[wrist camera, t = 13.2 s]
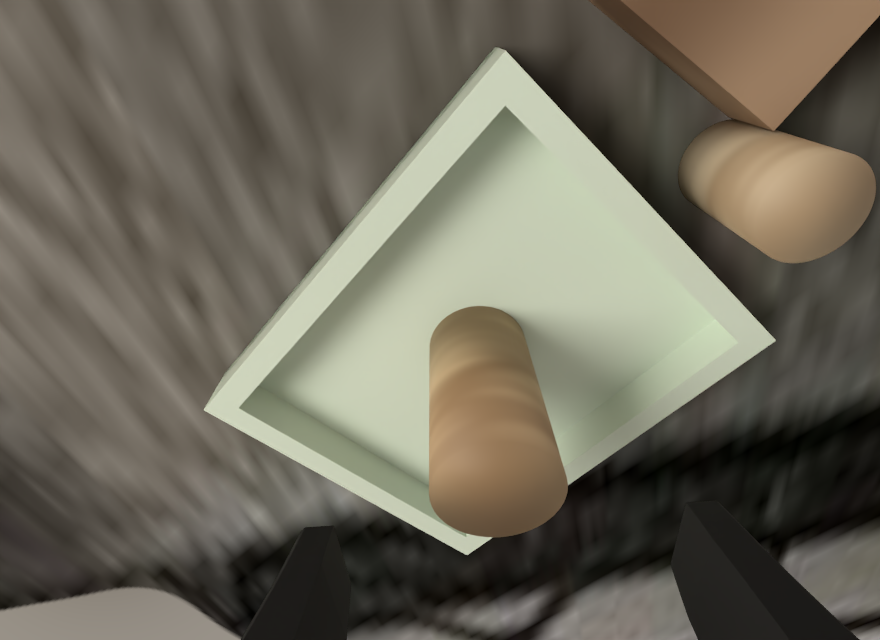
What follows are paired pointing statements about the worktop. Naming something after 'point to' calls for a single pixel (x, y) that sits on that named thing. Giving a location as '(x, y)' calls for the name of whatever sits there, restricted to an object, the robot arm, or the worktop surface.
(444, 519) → the dowel
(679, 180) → the cylinder
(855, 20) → the tan cardboard-coloured block
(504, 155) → the tray
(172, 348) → the worktop surface
